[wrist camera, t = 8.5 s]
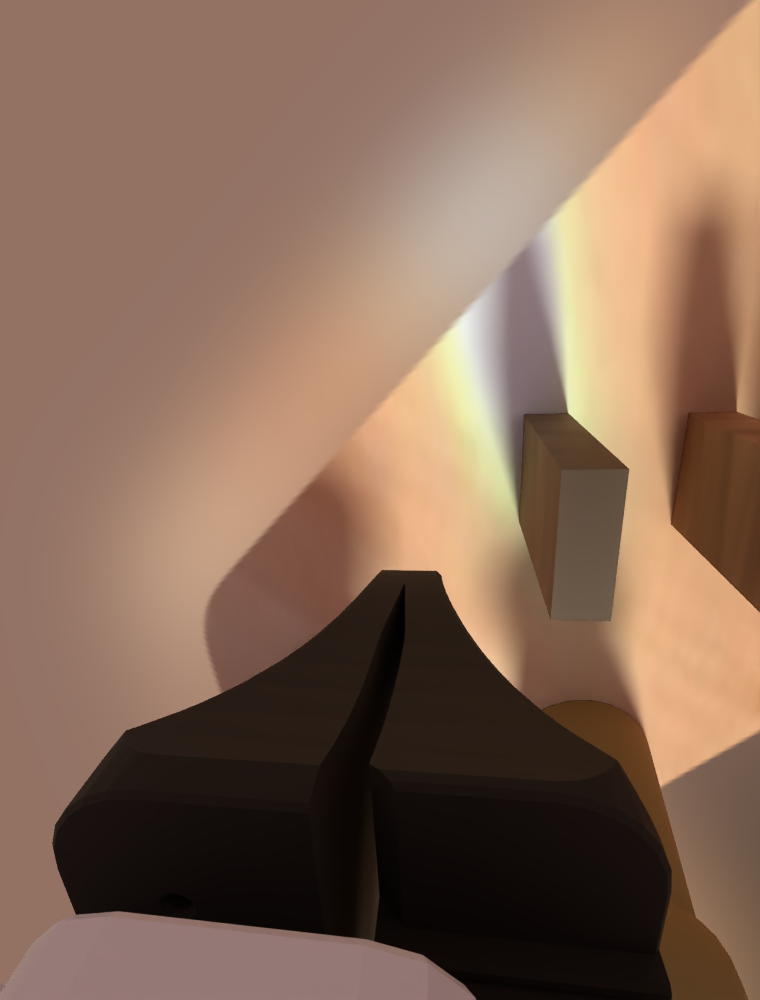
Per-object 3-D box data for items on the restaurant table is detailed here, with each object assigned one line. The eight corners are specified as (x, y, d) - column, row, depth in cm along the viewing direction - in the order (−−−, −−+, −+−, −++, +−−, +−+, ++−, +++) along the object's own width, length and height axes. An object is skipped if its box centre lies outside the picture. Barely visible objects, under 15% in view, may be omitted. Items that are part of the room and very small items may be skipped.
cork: (492, 730, 25) (522, 1026, 15) (611, 680, 23) (739, 980, 13) (554, 811, 26) (621, 1135, 16) (670, 771, 24) (830, 1107, 14)
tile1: (519, 521, 21) (550, 619, 14) (524, 414, 19) (561, 469, 13) (559, 521, 21) (610, 621, 14) (568, 413, 19) (629, 469, 13)
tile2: (671, 524, 20) (776, 629, 14) (688, 412, 19) (817, 471, 12) (715, 524, 20) (843, 630, 13) (736, 411, 18) (893, 470, 12)
